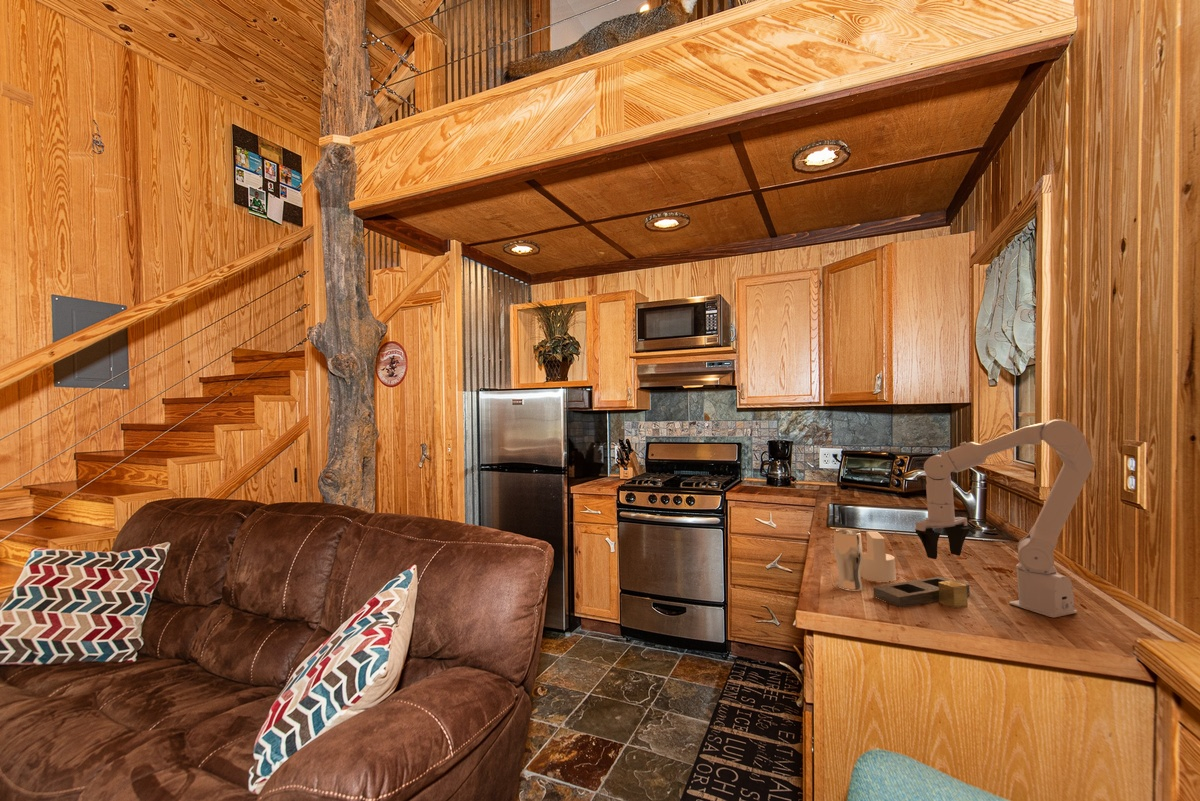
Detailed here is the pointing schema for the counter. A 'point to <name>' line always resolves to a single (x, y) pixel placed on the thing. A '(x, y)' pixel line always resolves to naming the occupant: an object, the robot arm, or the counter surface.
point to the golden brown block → (952, 594)
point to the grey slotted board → (912, 592)
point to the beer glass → (848, 558)
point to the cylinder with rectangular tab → (877, 560)
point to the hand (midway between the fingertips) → (944, 556)
